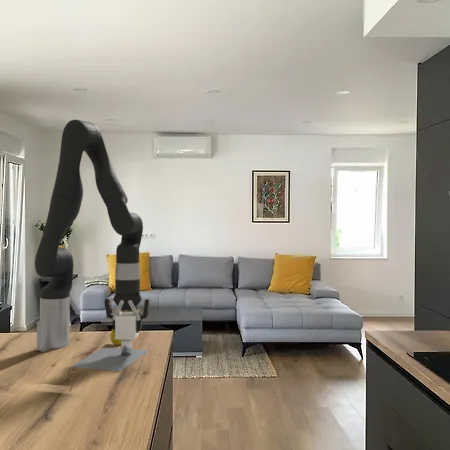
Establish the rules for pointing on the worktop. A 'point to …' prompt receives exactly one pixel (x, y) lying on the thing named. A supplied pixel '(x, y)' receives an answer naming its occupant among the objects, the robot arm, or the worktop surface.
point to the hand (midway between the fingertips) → (127, 331)
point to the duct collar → (125, 326)
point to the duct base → (109, 359)
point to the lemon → (113, 340)
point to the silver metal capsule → (126, 347)
